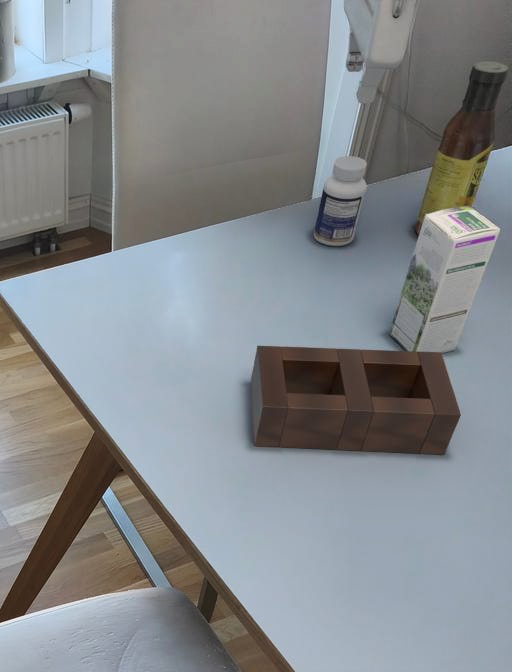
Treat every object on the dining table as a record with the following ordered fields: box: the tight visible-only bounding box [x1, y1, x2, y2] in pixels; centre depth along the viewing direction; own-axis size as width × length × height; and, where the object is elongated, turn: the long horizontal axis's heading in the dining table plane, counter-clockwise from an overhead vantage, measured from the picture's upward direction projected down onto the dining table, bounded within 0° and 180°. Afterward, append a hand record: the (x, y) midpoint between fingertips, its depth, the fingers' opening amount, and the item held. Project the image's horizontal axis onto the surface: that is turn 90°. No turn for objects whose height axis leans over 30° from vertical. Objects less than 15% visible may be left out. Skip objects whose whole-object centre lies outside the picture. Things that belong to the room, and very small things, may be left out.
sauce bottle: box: [414, 60, 509, 236], centre depth 112 cm, size 6×6×20 cm
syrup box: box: [388, 206, 501, 354], centre depth 98 cm, size 6×6×14 cm
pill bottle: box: [313, 155, 368, 247], centre depth 116 cm, size 5×5×10 cm
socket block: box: [249, 345, 462, 456], centre depth 93 cm, size 19×11×5 cm, turn 84°
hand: (358, 85), depth 102 cm, fingers open, 8 cm apart
